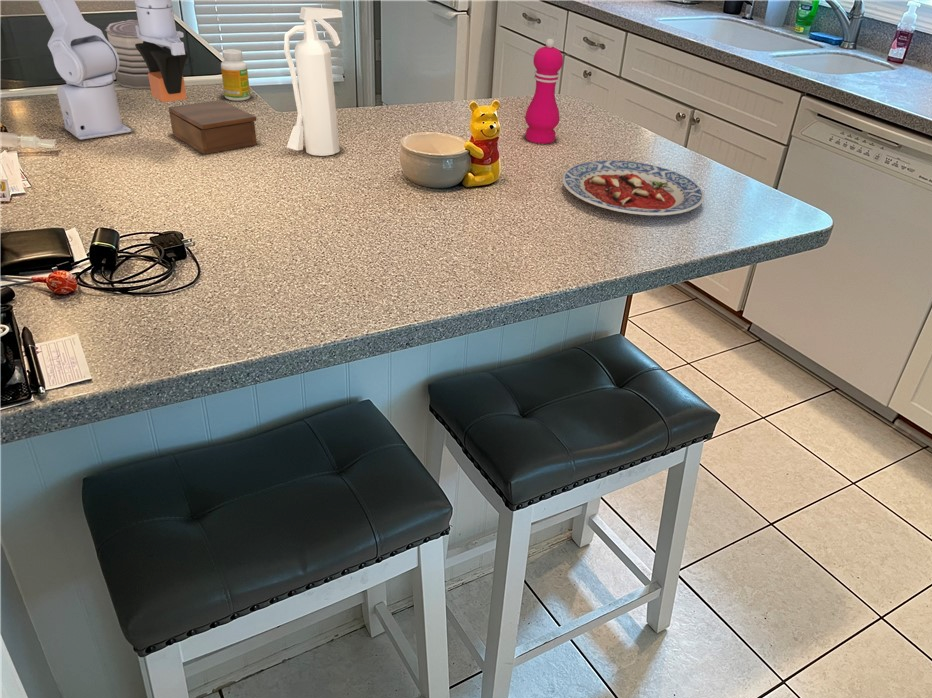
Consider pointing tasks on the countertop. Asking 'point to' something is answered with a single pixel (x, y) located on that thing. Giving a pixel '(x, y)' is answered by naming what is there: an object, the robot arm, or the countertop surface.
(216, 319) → the countertop surface
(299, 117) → the fire extinguisher
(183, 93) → the block
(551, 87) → the pepper mill
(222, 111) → the lid
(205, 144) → the box
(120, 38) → the can
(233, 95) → the supplement bottle
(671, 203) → the ceramic plate
